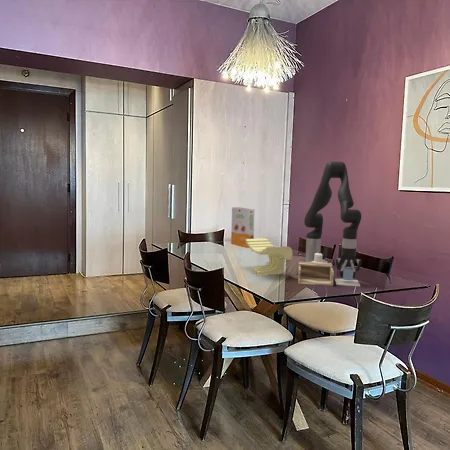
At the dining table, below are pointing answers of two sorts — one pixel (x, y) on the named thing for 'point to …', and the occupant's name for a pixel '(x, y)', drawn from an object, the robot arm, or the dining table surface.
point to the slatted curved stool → (269, 255)
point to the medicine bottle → (319, 258)
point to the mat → (347, 282)
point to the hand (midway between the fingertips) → (347, 277)
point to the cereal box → (242, 226)
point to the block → (347, 273)
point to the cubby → (315, 273)
